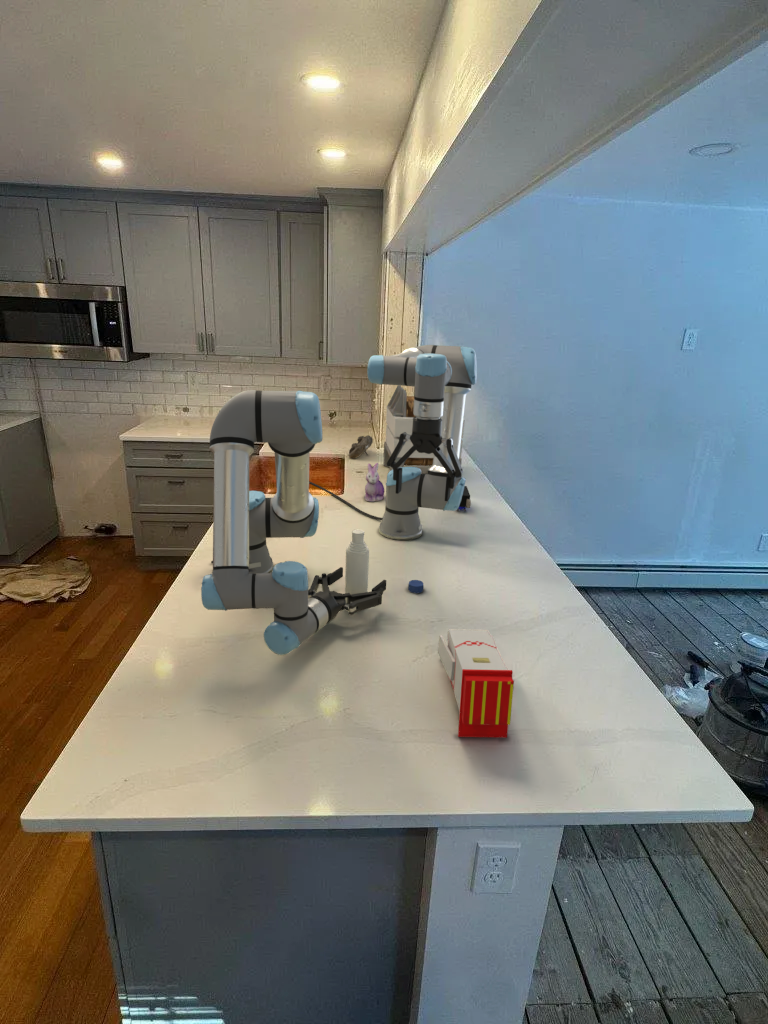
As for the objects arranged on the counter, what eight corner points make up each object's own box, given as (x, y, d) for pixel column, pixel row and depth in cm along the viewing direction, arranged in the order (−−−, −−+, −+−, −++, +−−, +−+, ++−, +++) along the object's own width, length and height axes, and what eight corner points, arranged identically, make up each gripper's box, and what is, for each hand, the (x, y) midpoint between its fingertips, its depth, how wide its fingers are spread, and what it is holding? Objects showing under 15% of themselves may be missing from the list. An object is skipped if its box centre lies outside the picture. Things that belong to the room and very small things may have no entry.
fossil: (348, 441, 313) (370, 426, 308) (359, 455, 316) (380, 440, 311) (342, 455, 293) (365, 439, 288) (353, 469, 296) (376, 454, 291)
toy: (488, 613, 130) (523, 677, 101) (484, 667, 133) (517, 744, 104) (435, 612, 130) (455, 676, 101) (432, 666, 133) (451, 743, 103)
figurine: (369, 503, 229) (370, 467, 224) (358, 496, 237) (359, 461, 232) (389, 500, 233) (391, 465, 228) (378, 493, 242) (380, 459, 236)
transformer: (382, 463, 289) (386, 382, 275) (445, 464, 293) (451, 384, 279) (390, 482, 257) (394, 392, 243) (460, 483, 261) (468, 394, 247)
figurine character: (470, 516, 223) (465, 500, 237) (473, 499, 220) (467, 484, 233) (453, 516, 223) (449, 500, 236) (455, 498, 220) (451, 483, 233)
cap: (422, 594, 158) (422, 587, 158) (407, 592, 159) (407, 585, 158) (424, 587, 162) (424, 580, 162) (409, 585, 163) (409, 578, 162)
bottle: (348, 611, 148) (349, 536, 141) (342, 600, 153) (343, 528, 146) (369, 608, 150) (372, 534, 142) (363, 598, 155) (366, 526, 148)
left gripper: (275, 611, 141) (324, 578, 159) (361, 641, 130) (403, 603, 148) (275, 584, 138) (324, 554, 156) (362, 612, 127) (405, 577, 145)
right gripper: (376, 414, 145) (373, 493, 152) (473, 425, 137) (465, 507, 144) (386, 409, 151) (383, 485, 159) (479, 419, 144) (471, 498, 151)
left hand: (363, 578), depth 152 cm, fingers open, 13 cm apart
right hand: (422, 496), depth 152 cm, fingers open, 13 cm apart
